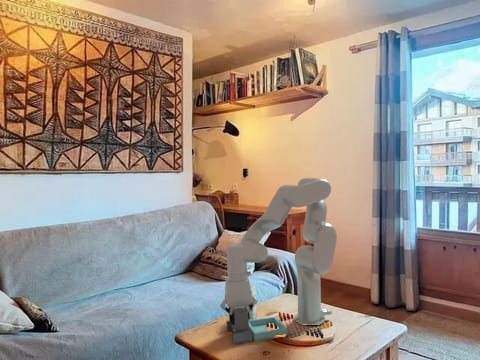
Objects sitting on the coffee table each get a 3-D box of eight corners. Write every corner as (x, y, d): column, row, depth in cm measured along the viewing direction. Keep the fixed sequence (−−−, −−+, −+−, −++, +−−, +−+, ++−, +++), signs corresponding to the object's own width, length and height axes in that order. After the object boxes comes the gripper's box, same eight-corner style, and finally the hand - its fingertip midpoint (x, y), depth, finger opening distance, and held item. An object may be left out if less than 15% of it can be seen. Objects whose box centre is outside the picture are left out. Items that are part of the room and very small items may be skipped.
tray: (275, 323, 162) (275, 316, 162) (287, 336, 150) (287, 329, 150) (245, 327, 159) (245, 320, 159) (254, 341, 147) (254, 333, 146)
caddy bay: (243, 328, 159) (243, 318, 158) (251, 341, 147) (251, 331, 146) (226, 330, 157) (226, 320, 157) (233, 344, 145) (233, 333, 145)
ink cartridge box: (245, 316, 171) (244, 282, 170) (256, 316, 170) (256, 283, 169) (241, 324, 163) (240, 289, 162) (253, 324, 162) (252, 289, 161)
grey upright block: (243, 324, 156) (242, 305, 156) (249, 332, 149) (247, 312, 148) (231, 326, 155) (230, 306, 155) (236, 335, 147) (235, 314, 147)
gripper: (255, 271, 156) (257, 315, 157) (214, 276, 152) (216, 321, 153) (261, 276, 149) (263, 323, 150) (217, 281, 145) (220, 329, 146)
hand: (239, 321), depth 152 cm, fingers closed on grey upright block, 5 cm apart
